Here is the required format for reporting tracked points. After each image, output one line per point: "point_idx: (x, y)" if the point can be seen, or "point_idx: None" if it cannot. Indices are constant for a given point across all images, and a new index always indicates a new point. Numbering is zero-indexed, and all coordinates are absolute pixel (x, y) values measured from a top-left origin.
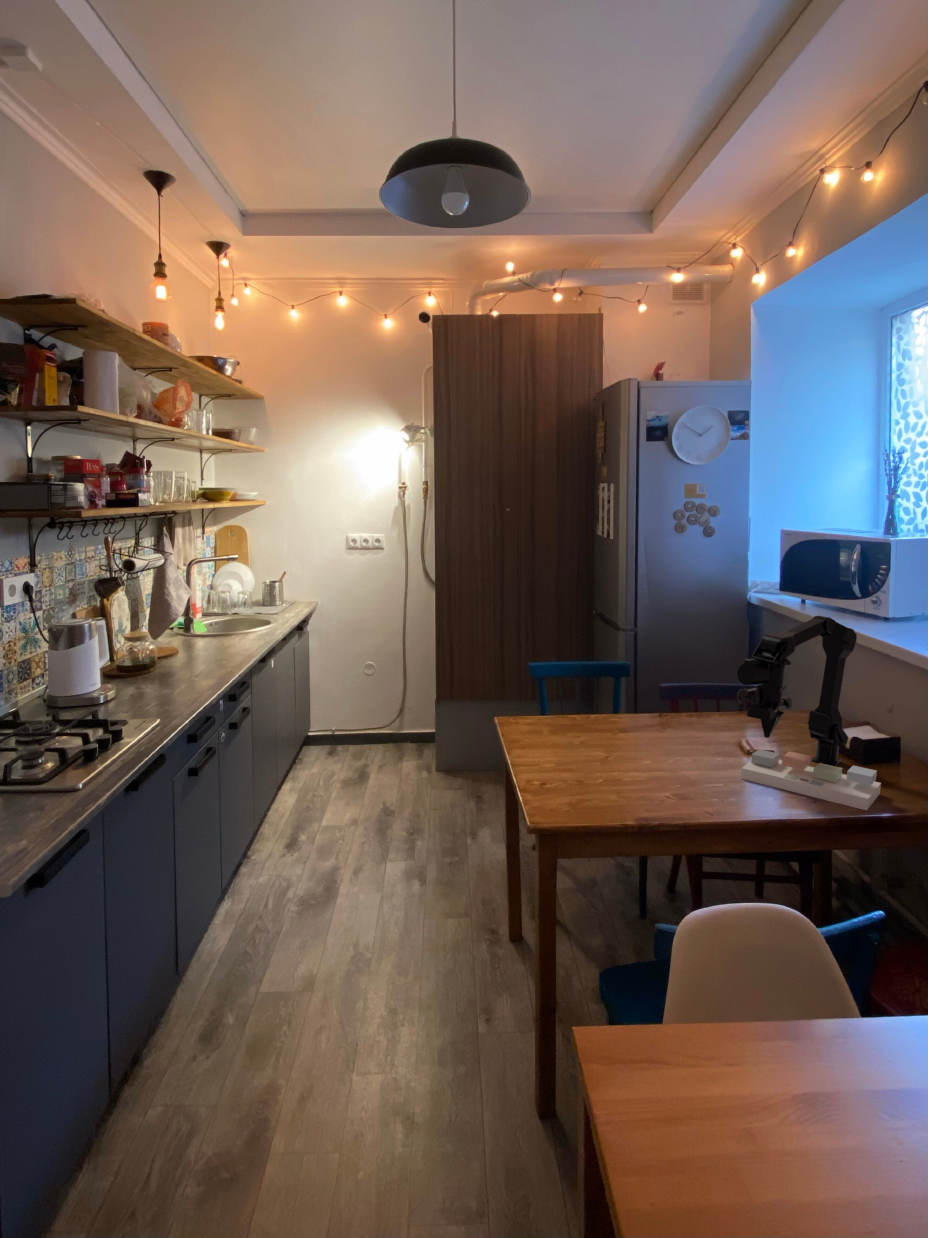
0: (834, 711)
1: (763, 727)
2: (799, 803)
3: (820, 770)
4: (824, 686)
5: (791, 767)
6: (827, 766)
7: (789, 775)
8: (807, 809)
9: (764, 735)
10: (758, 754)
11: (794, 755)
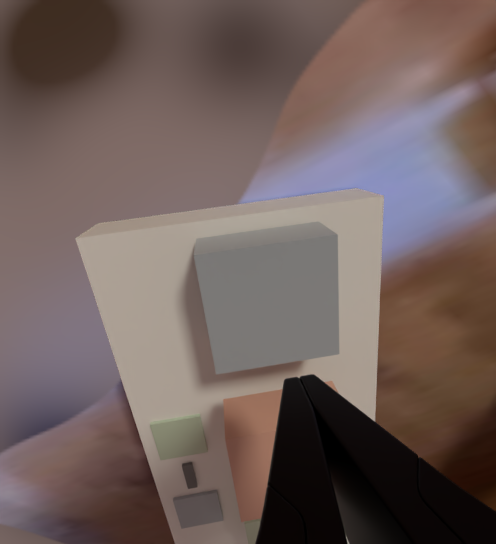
0: None
1: (270, 478)
2: (80, 467)
3: (248, 540)
4: None
5: None
6: None
7: (184, 429)
8: (57, 498)
9: (283, 390)
10: (225, 286)
11: None
